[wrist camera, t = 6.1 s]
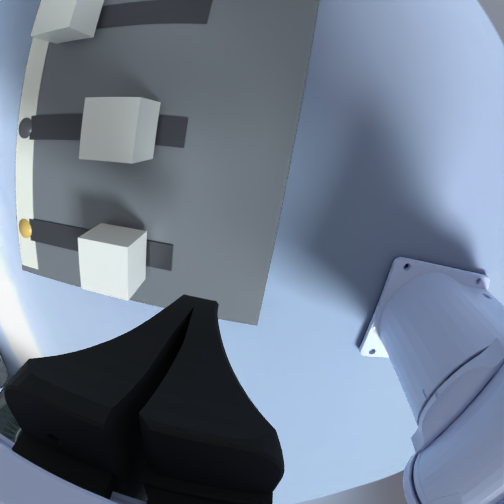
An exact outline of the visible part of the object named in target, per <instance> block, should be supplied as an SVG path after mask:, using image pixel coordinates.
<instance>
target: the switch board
mask: <svg viewBox="0 0 504 504" xmlns="http://www.w3.org/2000/svg"><path fill="white" fill-rule="evenodd" d="M318 5H319V0H104V2H103V5H102V9H101V12H100V15H99V19H98V22H97V26H96V30H95V34H94V37H93V38H86V39H80V40H74V41H68V42H63V43H57V44H55V43H52V42H48V41H45V40H41V39H37V38H34V37H33V39H32V43H31V47H30V52H29V56H28V60H27V65H26V70H25V76H24V81H23V87H22V94H21V101H20V108H19V117H18V128H17V142H16V168H15V186H16V212H17V226H18V237H19V246H20V254H21V262H22V269H23V270H25V271H28V272H31V273H34V274H37V275H41V276H44V277H47V278H50V279H54V280H57V281H61V282H64V283H68V284H71V285H75V286H78V287H81V279H80V267H79V252H78V237H79V236H81V235H83V234H84V233H86V232H87V231H89V230H91V229H92V228H94V227H96V226H97V225H99V224H100V223H104V224H110V225H115V226H121V227H127V228H133V229H138V230H144V231H147V243H146V277H145V280H144V282H143V283H142V284H141V285H140V287H139V288H138V289H137V290H136V292H135V293H134V294H133V296H132V297H131V298H130V299H129V300H133V301H137V302H141V303H145V304H150V305H154V306H159V307H163V308H166V307H167V306H169V305H170V304H171V303H173V302H174V301H175V300H177V299H178V298H179V297H181V296H182V295H184V294H185V295H189V296H194V297H199V298H204V299H209V300H214V301H217V303H218V304H219V307H218V319H223V320H228V321H234V322H239V323H245V324H251V325H257V323H258V319H259V314H260V310H261V305H262V300H263V296H264V291H265V286H266V282H267V277H268V272H269V267H270V263H271V258H272V253H273V248H274V243H275V239H276V234H277V229H278V224H279V219H280V214H281V209H282V204H283V199H284V194H285V189H286V184H287V179H288V174H289V168H290V163H291V158H292V153H293V147H294V142H295V137H296V132H297V126H298V121H299V115H300V110H301V104H302V99H303V93H304V88H305V82H306V76H307V71H308V65H309V59H310V53H311V47H312V41H313V36H314V29H315V23H316V17H317V11H318ZM86 97H142V98H146V99H150V100H154V101H158V102H161V104H160V110H159V117H158V124H157V131H156V138H155V146H154V154H153V159H150V160H145V161H141V162H137V163H133V164H130V163H120V162H109V161H97V160H84V159H79V149H80V138H81V128H82V119H83V111H84V104H85V98H86Z"/></svg>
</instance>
